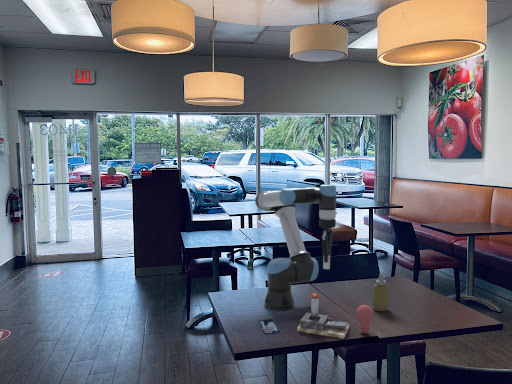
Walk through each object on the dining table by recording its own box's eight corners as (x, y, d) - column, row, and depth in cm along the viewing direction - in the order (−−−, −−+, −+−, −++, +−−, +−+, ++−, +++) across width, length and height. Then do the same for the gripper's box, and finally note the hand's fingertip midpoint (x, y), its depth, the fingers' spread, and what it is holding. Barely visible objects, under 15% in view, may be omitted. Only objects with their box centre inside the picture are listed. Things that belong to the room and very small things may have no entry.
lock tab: (325, 327, 175) (324, 324, 175) (328, 323, 180) (327, 320, 180) (345, 329, 172) (345, 325, 172) (347, 324, 177) (347, 321, 177)
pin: (310, 325, 179) (310, 294, 178) (311, 322, 182) (312, 292, 181) (317, 326, 178) (317, 295, 177) (319, 323, 181) (319, 293, 180)
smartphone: (264, 333, 174) (257, 319, 189) (264, 335, 174) (257, 321, 189) (281, 332, 175) (273, 318, 190) (281, 334, 176) (273, 320, 190)
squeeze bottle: (390, 313, 197) (390, 276, 196) (372, 311, 199) (373, 275, 197) (388, 307, 205) (388, 271, 204) (371, 306, 207) (371, 270, 205)
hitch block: (297, 331, 177) (297, 321, 177) (305, 321, 188) (305, 311, 188) (343, 338, 169) (344, 328, 169) (349, 327, 180) (349, 317, 180)
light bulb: (370, 329, 178) (370, 302, 177) (375, 336, 171) (376, 308, 170) (354, 329, 178) (354, 302, 177) (358, 336, 171) (359, 308, 170)
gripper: (332, 221, 181) (331, 273, 184) (338, 216, 193) (337, 265, 196) (315, 220, 184) (314, 271, 187) (323, 215, 196) (322, 264, 199)
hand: (326, 268), depth 191 cm, fingers closed
